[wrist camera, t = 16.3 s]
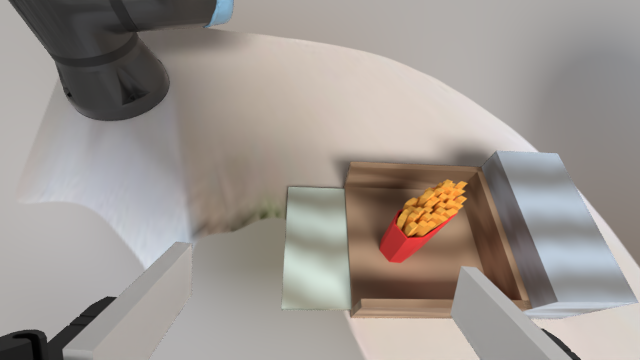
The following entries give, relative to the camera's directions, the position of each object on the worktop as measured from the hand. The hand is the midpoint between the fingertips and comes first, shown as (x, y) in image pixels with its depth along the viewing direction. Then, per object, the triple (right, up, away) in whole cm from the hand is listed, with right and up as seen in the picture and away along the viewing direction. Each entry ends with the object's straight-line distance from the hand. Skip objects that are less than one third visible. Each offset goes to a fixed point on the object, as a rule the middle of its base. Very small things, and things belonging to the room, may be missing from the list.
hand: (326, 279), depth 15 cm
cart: (+12, -4, +26) cm, 28 cm away
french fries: (+10, -3, +24) cm, 26 cm away
